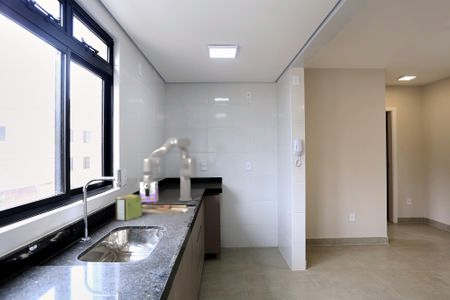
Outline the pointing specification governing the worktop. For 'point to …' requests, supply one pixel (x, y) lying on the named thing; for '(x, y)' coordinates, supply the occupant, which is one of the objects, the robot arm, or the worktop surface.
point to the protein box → (128, 207)
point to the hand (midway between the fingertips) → (149, 195)
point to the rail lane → (163, 209)
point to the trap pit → (164, 207)
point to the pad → (182, 209)
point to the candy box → (152, 193)
